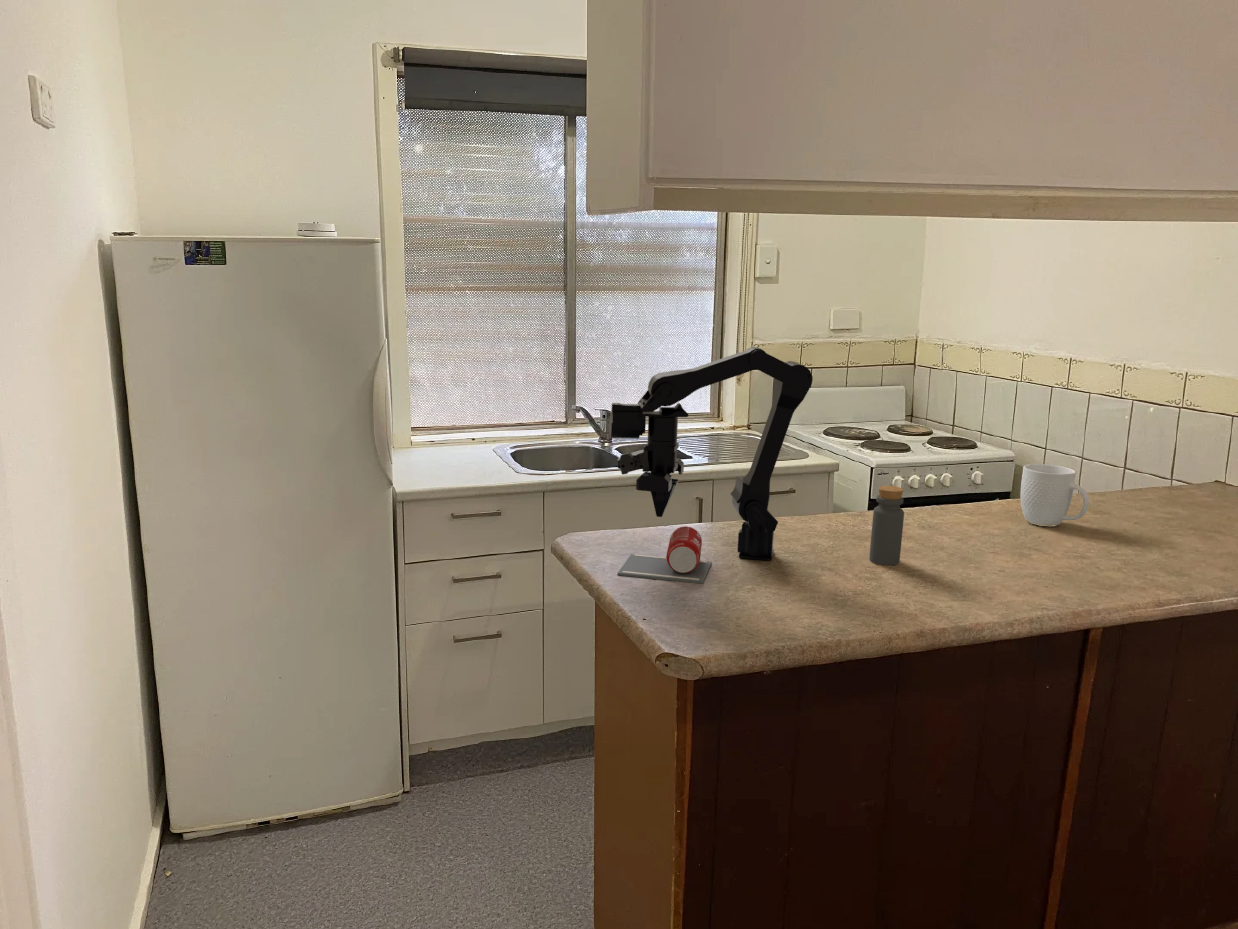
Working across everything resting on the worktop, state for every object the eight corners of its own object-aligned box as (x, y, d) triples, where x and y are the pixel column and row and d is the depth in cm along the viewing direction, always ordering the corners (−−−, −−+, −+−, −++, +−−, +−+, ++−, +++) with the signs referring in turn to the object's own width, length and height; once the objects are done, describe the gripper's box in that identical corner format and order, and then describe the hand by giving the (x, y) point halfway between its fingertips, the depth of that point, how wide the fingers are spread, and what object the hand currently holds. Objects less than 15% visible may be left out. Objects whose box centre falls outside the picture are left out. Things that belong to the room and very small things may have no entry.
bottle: (901, 559, 188) (908, 487, 185) (896, 567, 183) (904, 493, 180) (871, 555, 190) (878, 483, 187) (866, 563, 185) (873, 489, 182)
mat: (711, 563, 182) (711, 561, 182) (702, 583, 171) (702, 581, 171) (631, 555, 186) (631, 553, 186) (617, 575, 174) (617, 572, 174)
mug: (1093, 528, 215) (1101, 472, 212) (1074, 537, 207) (1082, 479, 204) (1028, 514, 225) (1034, 461, 222) (1008, 522, 217) (1015, 467, 215)
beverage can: (690, 561, 185) (687, 582, 174) (663, 543, 185) (659, 563, 174) (708, 536, 184) (706, 556, 172) (681, 518, 184) (678, 537, 172)
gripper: (631, 427, 192) (629, 501, 196) (610, 445, 174) (608, 525, 178) (685, 431, 190) (682, 506, 193) (669, 449, 172) (666, 530, 175)
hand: (659, 516), depth 185 cm, fingers closed
